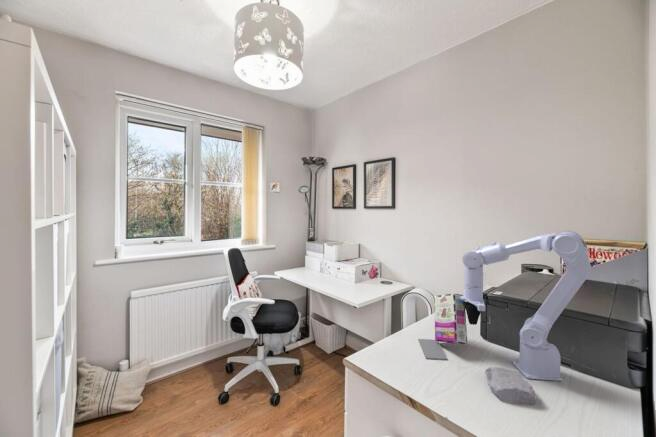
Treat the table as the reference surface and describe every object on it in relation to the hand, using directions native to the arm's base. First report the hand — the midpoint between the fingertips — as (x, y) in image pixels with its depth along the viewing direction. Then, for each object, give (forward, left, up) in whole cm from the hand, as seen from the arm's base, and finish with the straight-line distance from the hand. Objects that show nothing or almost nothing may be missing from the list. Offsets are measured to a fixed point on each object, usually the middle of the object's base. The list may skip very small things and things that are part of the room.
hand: (472, 323), depth 95 cm
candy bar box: (+7, 0, -8) cm, 10 cm away
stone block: (-2, +19, -10) cm, 22 cm away
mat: (+13, 0, -10) cm, 17 cm away
